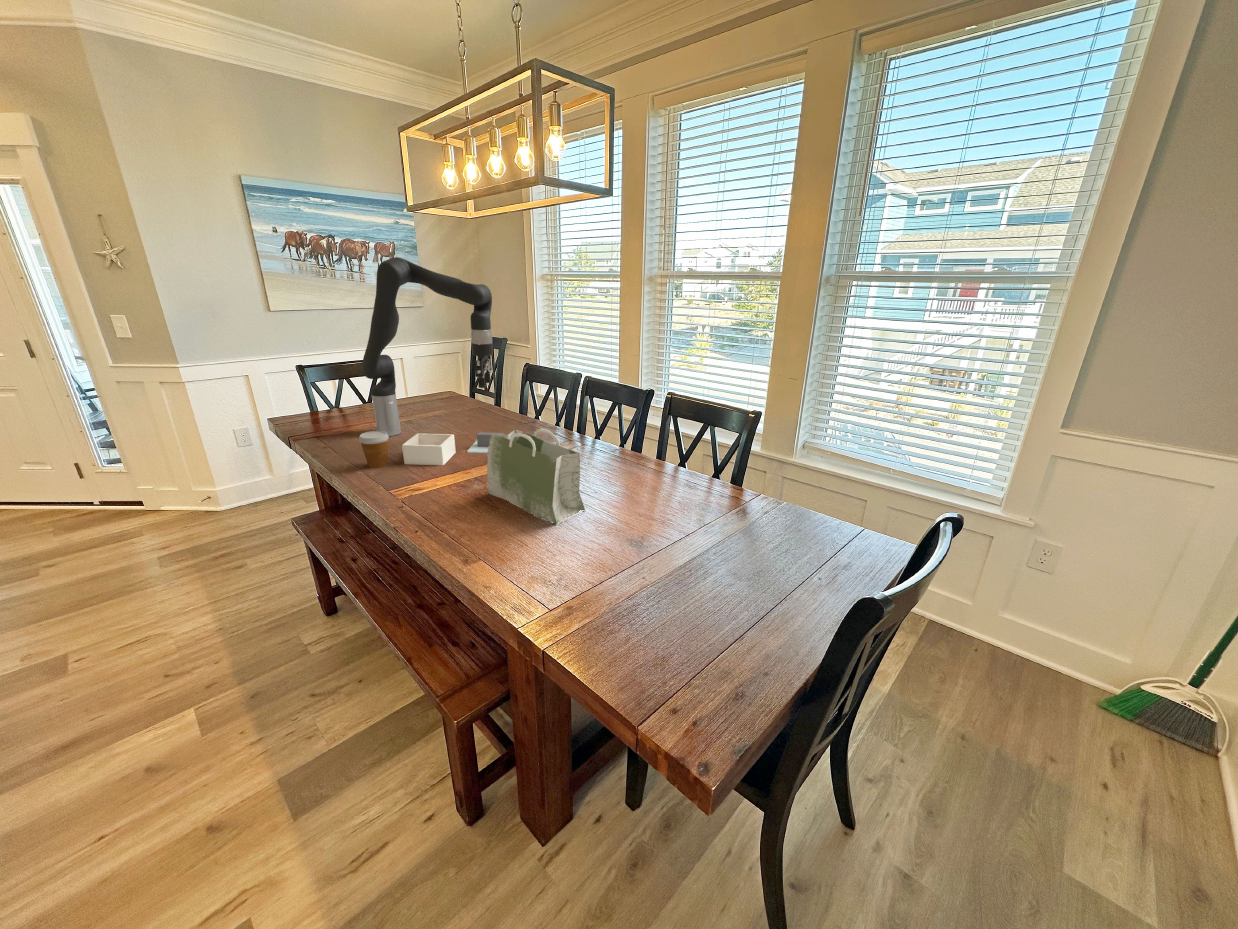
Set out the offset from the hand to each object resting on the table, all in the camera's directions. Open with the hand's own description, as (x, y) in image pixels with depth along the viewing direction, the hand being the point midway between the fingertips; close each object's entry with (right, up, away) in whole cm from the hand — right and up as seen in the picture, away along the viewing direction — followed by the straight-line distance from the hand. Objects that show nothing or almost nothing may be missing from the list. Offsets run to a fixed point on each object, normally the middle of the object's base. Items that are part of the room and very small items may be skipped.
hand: (484, 385), depth 186 cm
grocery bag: (+25, -42, -34) cm, 60 cm away
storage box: (-19, -29, -4) cm, 35 cm away
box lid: (0, -24, +10) cm, 26 cm away
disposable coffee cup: (-35, -31, -11) cm, 48 cm away
